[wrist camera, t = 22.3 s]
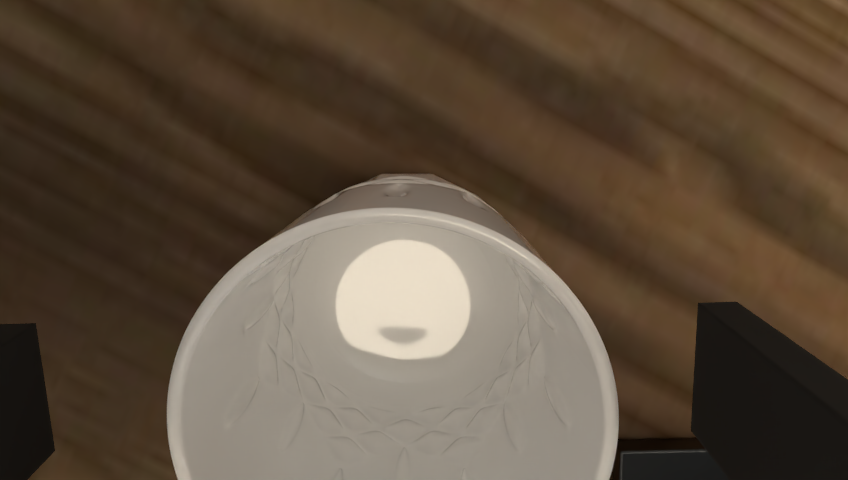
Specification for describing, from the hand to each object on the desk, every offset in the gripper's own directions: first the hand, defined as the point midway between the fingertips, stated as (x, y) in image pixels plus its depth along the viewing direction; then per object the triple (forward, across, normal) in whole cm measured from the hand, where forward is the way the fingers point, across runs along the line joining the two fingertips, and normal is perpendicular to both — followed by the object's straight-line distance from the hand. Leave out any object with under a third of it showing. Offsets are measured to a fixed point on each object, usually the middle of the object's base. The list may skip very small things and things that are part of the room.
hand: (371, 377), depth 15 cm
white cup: (+8, +1, 0) cm, 8 cm away
